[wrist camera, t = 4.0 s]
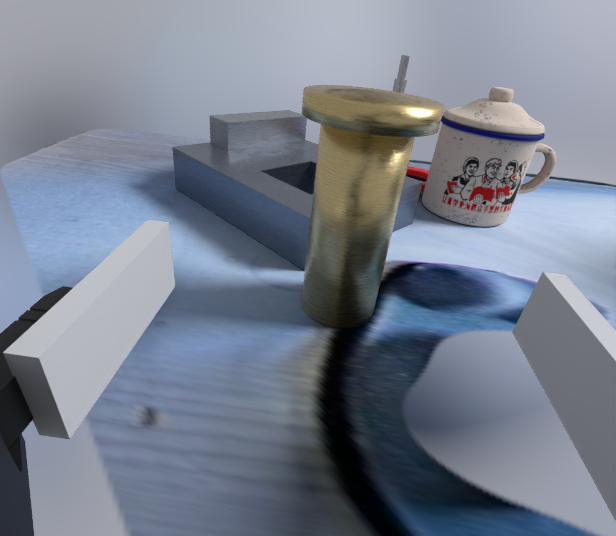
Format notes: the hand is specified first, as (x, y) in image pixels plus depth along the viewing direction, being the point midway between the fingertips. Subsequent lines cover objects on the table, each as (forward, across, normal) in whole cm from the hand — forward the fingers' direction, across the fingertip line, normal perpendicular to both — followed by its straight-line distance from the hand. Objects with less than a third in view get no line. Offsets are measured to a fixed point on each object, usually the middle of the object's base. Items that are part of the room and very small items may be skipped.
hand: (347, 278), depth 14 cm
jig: (+22, -4, -7) cm, 24 cm away
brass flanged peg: (+8, 0, -7) cm, 10 cm away
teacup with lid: (+27, +14, -7) cm, 32 cm away
